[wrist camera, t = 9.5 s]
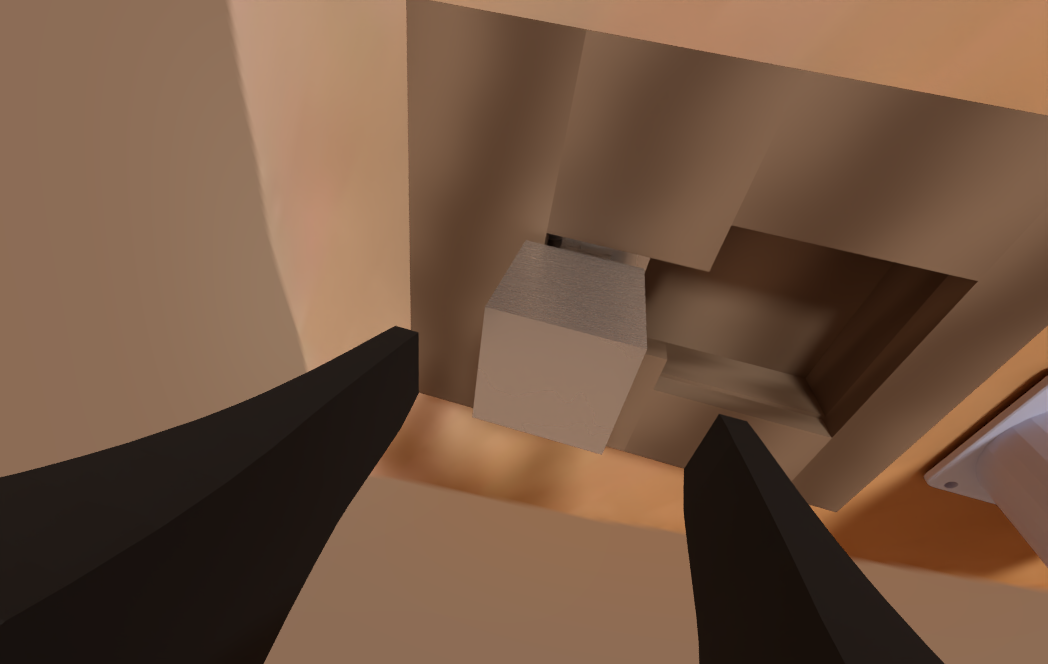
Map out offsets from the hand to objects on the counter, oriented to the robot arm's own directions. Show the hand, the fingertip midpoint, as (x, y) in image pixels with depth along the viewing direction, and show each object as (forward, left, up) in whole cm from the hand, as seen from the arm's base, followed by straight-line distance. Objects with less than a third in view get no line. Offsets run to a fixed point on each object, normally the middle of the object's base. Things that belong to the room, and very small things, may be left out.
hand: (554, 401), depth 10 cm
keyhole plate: (-3, 0, -10) cm, 11 cm away
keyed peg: (0, 0, -9) cm, 9 cm away
